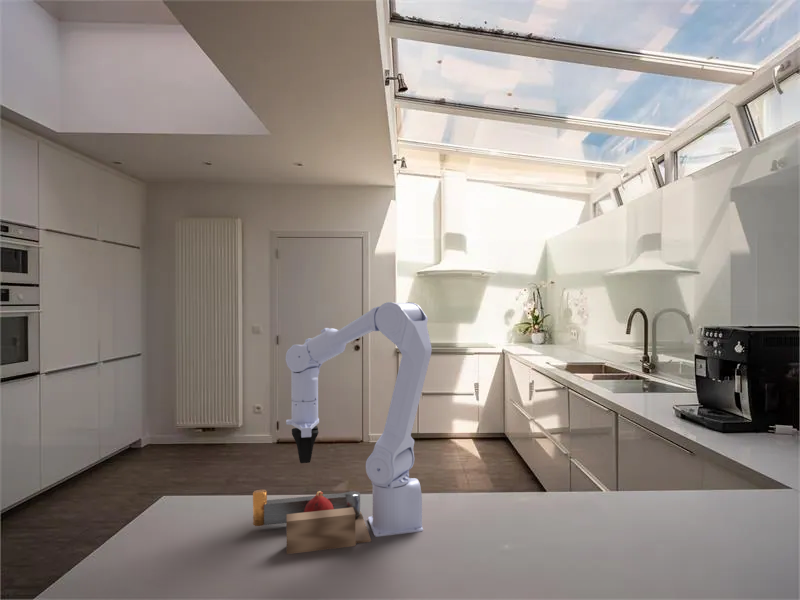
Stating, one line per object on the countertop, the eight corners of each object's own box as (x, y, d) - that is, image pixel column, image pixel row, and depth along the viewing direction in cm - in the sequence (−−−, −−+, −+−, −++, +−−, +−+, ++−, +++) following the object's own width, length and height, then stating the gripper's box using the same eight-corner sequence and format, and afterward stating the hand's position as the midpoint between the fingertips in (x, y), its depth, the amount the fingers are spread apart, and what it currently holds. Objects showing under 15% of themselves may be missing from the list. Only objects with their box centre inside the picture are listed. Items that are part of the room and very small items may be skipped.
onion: (328, 543, 87) (327, 499, 87) (298, 540, 88) (298, 496, 88) (338, 528, 93) (338, 487, 93) (310, 526, 94) (310, 485, 94)
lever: (359, 510, 99) (358, 480, 99) (361, 516, 96) (361, 486, 96) (253, 520, 94) (253, 489, 94) (252, 528, 91) (252, 495, 91)
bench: (360, 514, 99) (360, 485, 99) (372, 545, 86) (371, 512, 86) (286, 522, 96) (286, 492, 96) (286, 556, 83) (286, 521, 83)
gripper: (285, 394, 110) (286, 453, 110) (286, 407, 96) (286, 475, 96) (316, 392, 112) (317, 451, 112) (321, 405, 98) (321, 472, 97)
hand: (305, 462), depth 104 cm, fingers closed
